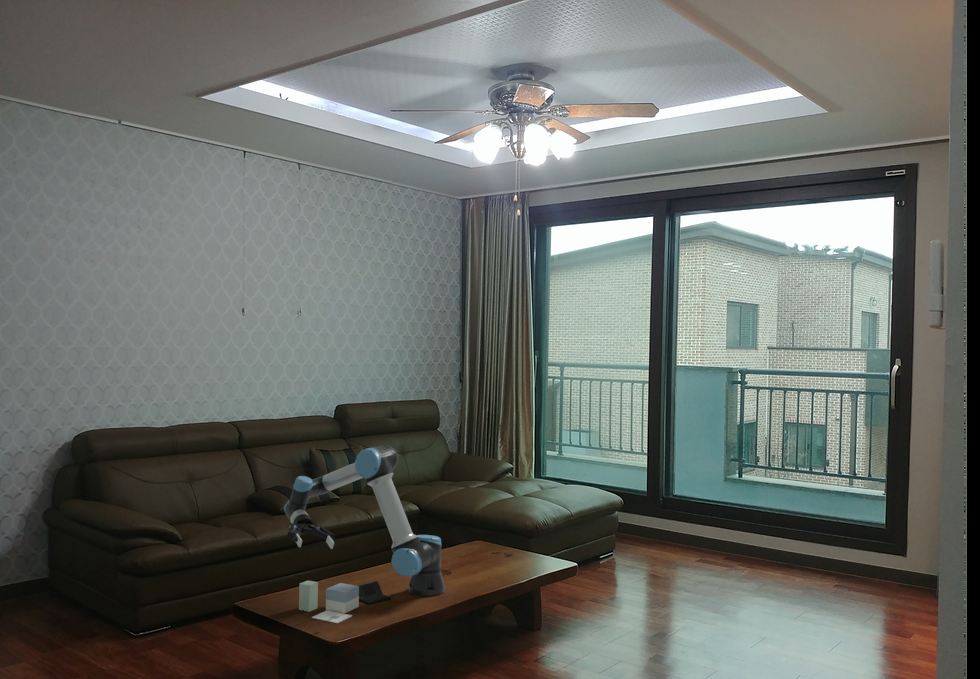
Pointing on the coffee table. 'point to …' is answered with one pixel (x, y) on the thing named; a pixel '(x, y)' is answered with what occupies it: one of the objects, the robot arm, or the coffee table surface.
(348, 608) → the tower base
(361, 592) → the handheld gaming console
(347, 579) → the coffee table surface
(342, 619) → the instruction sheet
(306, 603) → the top brick
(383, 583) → the coffee table surface
